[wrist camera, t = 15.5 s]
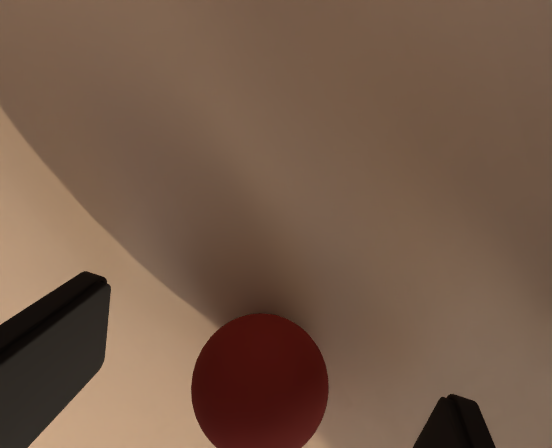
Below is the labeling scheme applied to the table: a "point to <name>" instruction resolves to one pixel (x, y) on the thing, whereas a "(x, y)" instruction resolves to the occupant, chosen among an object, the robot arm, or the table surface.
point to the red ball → (260, 384)
